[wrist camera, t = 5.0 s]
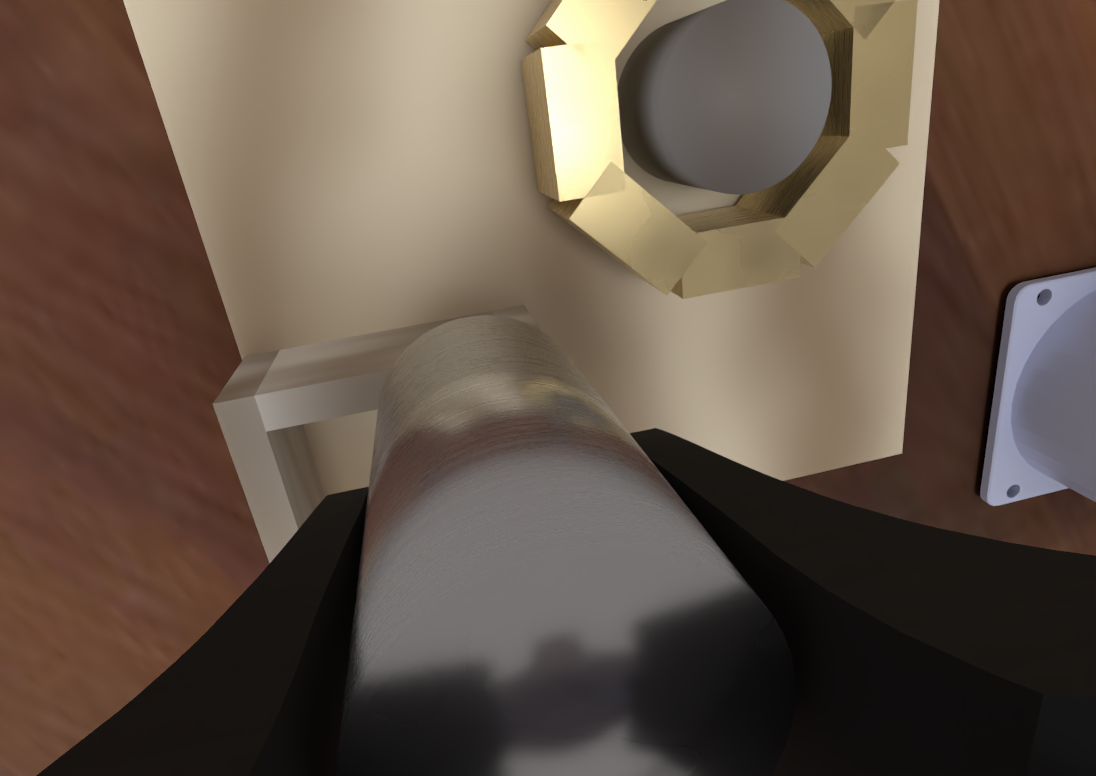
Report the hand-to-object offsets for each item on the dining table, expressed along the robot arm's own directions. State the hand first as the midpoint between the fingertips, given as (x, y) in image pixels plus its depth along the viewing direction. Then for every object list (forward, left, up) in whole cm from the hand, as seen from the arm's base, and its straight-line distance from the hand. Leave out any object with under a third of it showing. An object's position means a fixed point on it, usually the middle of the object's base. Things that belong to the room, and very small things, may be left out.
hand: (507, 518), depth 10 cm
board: (-4, -4, -9) cm, 10 cm away
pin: (0, -1, -2) cm, 2 cm away
